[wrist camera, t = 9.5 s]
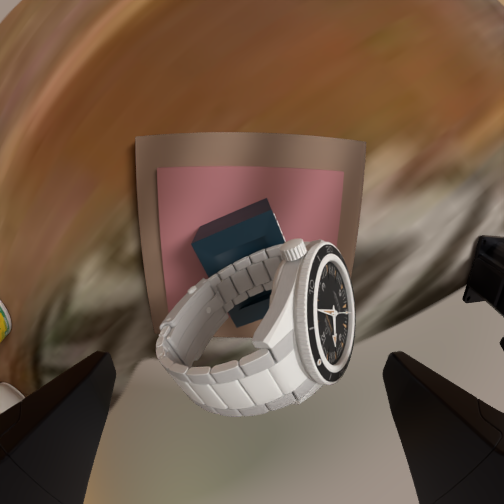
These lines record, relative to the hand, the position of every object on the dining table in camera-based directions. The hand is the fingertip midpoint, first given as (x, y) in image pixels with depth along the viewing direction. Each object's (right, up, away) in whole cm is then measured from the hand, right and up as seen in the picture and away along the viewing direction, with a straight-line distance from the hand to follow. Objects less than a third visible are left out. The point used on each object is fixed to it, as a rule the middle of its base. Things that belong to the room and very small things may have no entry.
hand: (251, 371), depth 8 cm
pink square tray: (0, +4, +11) cm, 12 cm away
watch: (0, +4, +10) cm, 11 cm away
